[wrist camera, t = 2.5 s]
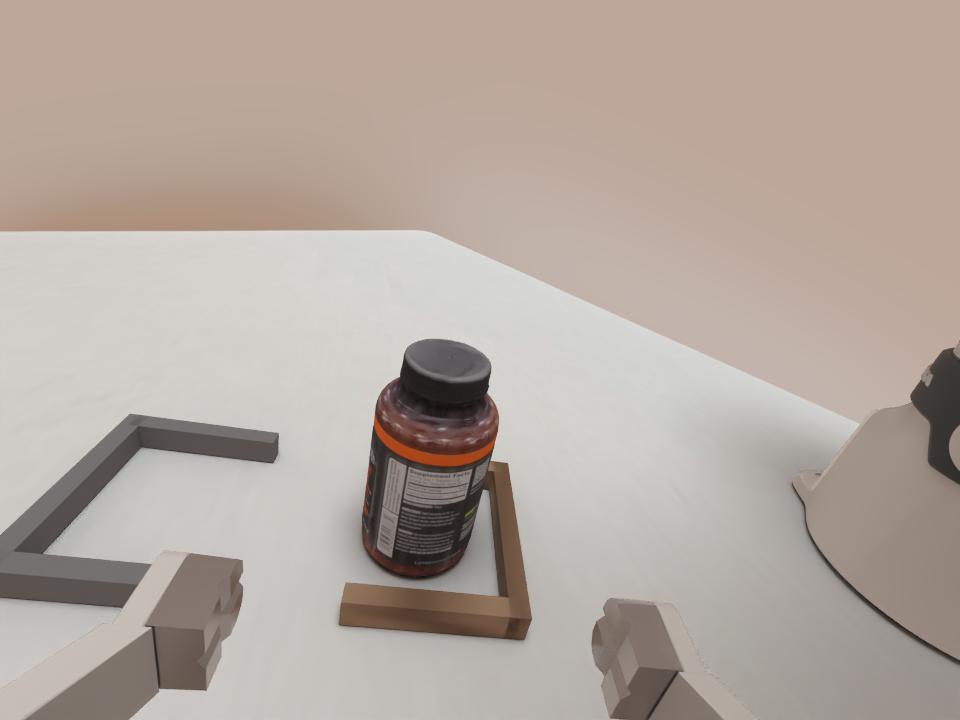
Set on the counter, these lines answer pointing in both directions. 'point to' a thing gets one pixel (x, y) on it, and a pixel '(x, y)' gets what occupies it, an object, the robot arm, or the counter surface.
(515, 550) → the walnut bay
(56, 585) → the charcoal bay
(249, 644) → the counter surface
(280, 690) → the counter surface
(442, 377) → the supplement bottle
